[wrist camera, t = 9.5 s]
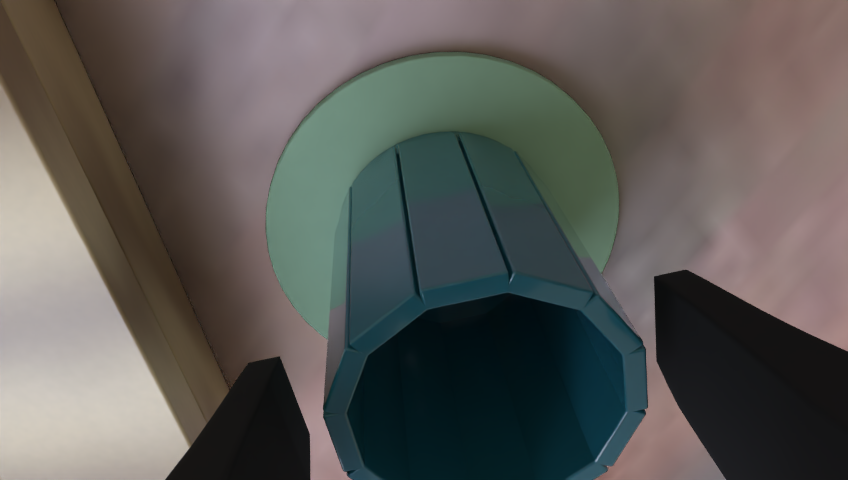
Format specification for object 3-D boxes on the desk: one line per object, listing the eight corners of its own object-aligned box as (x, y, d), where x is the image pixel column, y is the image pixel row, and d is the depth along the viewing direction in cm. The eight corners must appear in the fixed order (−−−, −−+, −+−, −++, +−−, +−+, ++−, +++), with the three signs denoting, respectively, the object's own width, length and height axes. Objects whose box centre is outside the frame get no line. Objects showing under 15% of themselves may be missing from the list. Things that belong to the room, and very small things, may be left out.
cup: (559, 296, 18) (652, 488, 12) (366, 337, 18) (370, 546, 12) (538, 108, 15) (643, 242, 10) (312, 157, 16) (286, 319, 10)
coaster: (622, 327, 19) (627, 336, 19) (321, 391, 19) (320, 400, 19) (604, 12, 15) (610, 16, 15) (215, 98, 15) (212, 102, 15)
